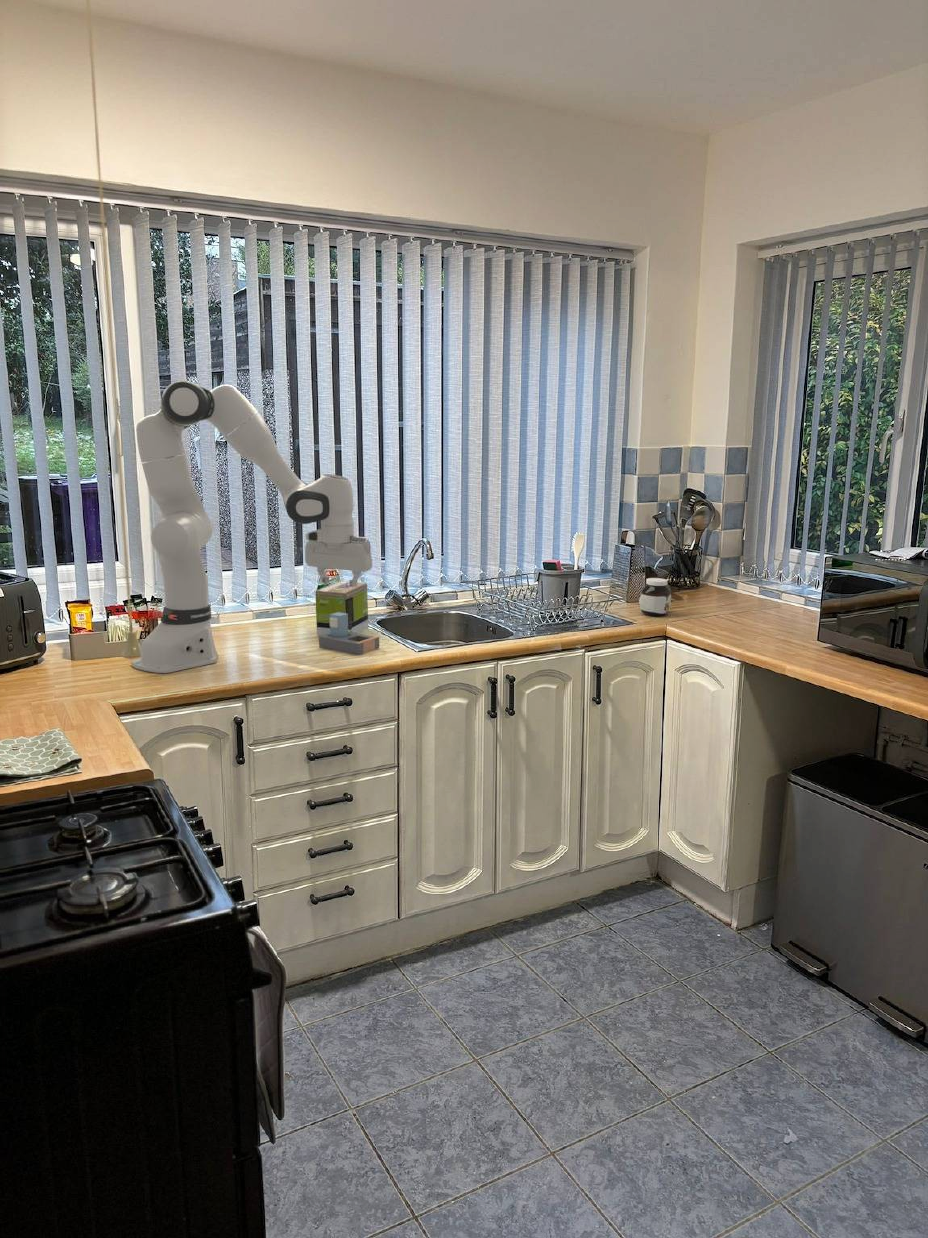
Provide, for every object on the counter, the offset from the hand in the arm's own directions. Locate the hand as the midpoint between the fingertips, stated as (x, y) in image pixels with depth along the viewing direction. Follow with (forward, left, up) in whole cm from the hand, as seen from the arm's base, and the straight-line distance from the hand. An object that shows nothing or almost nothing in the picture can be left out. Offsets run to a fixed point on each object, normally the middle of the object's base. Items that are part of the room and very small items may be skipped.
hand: (339, 584), depth 256 cm
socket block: (0, -3, -18) cm, 18 cm away
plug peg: (0, 0, -17) cm, 17 cm away
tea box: (+13, +10, -19) cm, 25 cm away
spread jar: (+96, -54, -19) cm, 112 cm away
